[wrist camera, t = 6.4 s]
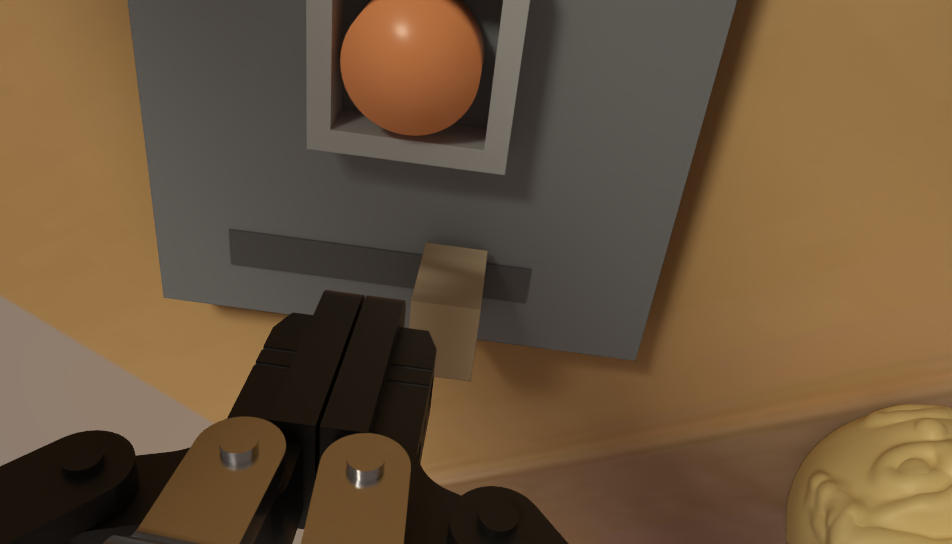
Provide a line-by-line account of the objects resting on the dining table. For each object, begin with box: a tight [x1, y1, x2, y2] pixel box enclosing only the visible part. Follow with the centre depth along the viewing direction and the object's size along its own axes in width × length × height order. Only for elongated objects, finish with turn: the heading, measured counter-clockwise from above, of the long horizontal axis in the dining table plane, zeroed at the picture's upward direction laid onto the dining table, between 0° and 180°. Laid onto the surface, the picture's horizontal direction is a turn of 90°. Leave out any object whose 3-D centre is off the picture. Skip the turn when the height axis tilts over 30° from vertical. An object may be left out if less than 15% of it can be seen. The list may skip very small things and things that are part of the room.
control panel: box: [128, 0, 737, 361], centre depth 27 cm, size 20×24×4 cm
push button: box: [340, 0, 485, 136], centre depth 25 cm, size 4×4×2 cm
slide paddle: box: [409, 243, 488, 381], centre depth 29 cm, size 2×3×4 cm
